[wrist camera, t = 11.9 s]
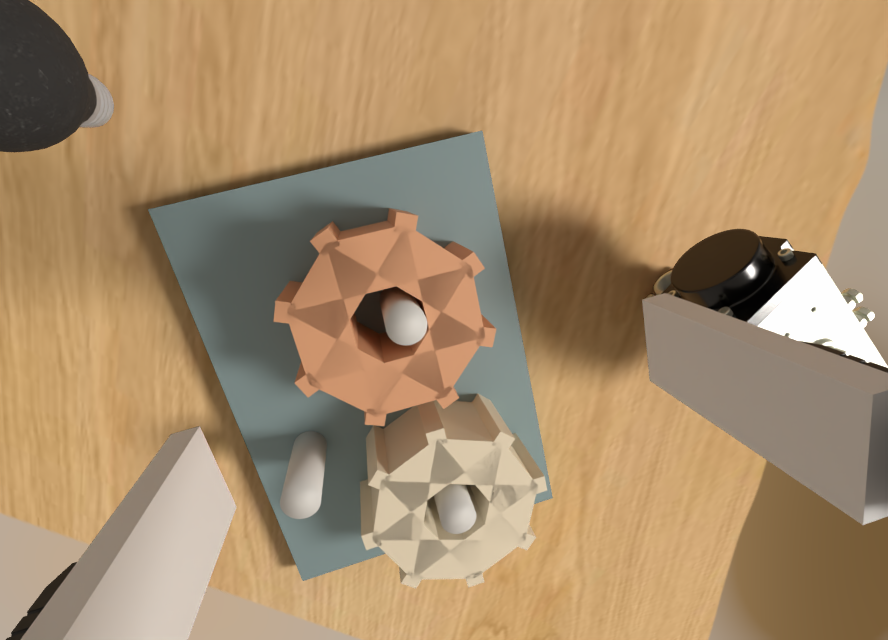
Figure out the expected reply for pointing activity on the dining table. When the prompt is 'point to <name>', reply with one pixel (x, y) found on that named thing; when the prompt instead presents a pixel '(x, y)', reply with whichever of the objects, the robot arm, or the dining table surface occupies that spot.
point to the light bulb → (43, 82)
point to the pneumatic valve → (771, 291)
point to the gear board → (265, 351)
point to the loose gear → (375, 355)
